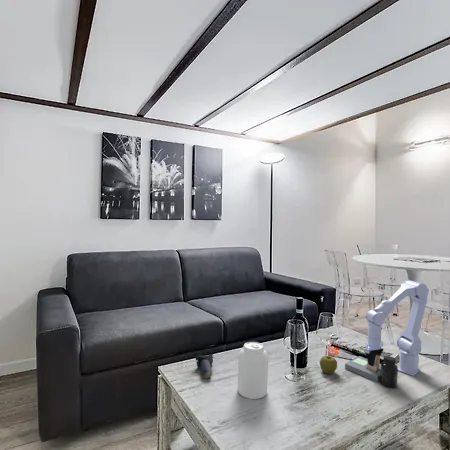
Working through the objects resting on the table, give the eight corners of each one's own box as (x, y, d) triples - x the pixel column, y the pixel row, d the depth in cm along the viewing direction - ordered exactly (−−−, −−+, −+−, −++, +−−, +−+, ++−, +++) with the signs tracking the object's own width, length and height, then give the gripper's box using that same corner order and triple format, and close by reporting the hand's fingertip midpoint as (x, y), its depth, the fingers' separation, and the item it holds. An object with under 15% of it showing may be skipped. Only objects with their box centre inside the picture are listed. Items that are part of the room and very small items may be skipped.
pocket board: (359, 360, 167) (359, 355, 167) (390, 372, 155) (391, 367, 155) (344, 368, 158) (345, 363, 158) (377, 382, 146) (377, 376, 146)
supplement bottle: (399, 389, 140) (400, 362, 140) (382, 387, 141) (383, 360, 141) (394, 381, 147) (395, 355, 146) (378, 379, 148) (379, 354, 148)
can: (269, 386, 140) (271, 341, 139) (263, 402, 128) (265, 353, 127) (242, 381, 144) (243, 337, 143) (233, 396, 132) (235, 348, 131)
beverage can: (197, 369, 156) (201, 384, 145) (194, 355, 155) (198, 368, 144) (215, 364, 158) (220, 378, 146) (212, 350, 157) (217, 363, 145)
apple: (339, 376, 150) (339, 361, 150) (321, 375, 150) (322, 360, 150) (333, 368, 158) (334, 354, 158) (317, 368, 158) (318, 353, 158)
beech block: (370, 367, 156) (371, 353, 156) (379, 370, 153) (379, 355, 153) (366, 369, 154) (367, 355, 154) (375, 372, 151) (375, 358, 150)
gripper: (373, 330, 161) (372, 356, 161) (358, 336, 151) (357, 365, 152) (387, 334, 155) (386, 362, 156) (373, 341, 146) (372, 371, 146)
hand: (373, 364), depth 153 cm, fingers closed on beech block, 4 cm apart
